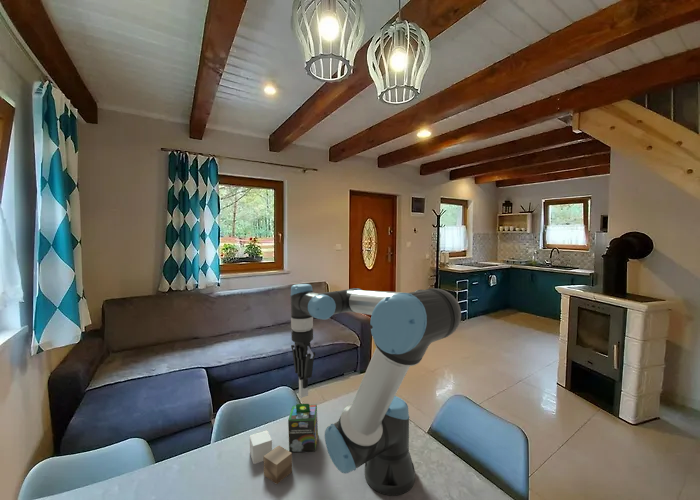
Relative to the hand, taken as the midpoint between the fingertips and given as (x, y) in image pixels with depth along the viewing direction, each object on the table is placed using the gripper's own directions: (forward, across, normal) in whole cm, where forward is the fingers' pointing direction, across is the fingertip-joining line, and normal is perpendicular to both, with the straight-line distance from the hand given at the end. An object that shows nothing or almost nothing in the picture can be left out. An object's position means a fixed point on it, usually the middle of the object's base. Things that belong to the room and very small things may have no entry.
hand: (303, 395), depth 104 cm
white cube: (+17, +4, +14) cm, 23 cm away
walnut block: (+17, -6, +13) cm, 23 cm away
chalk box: (+17, 0, 0) cm, 17 cm away
